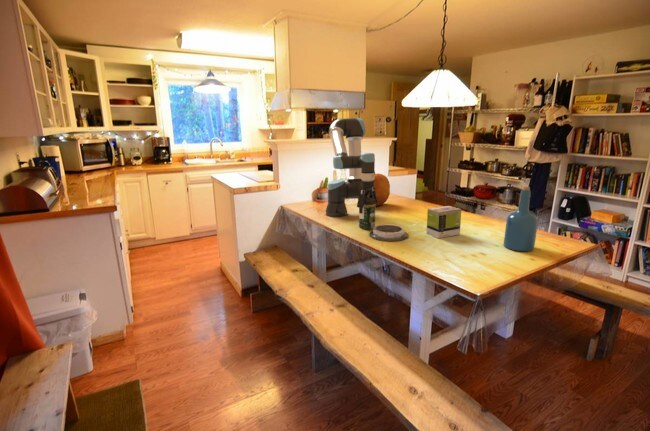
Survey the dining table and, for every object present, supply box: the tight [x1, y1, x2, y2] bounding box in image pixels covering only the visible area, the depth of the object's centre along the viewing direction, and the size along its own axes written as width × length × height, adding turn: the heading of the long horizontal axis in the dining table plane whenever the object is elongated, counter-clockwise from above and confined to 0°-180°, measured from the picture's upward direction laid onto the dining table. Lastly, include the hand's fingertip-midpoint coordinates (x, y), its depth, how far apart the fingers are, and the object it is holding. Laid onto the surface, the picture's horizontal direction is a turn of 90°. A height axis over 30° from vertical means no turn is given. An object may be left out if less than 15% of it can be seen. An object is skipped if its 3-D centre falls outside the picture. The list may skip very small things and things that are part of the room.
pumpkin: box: [374, 170, 391, 207], centre depth 254 cm, size 26×23×30 cm
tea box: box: [426, 205, 462, 239], centre depth 184 cm, size 15×10×15 cm, turn 111°
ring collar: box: [368, 223, 409, 242], centre depth 186 cm, size 21×21×4 cm
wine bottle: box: [503, 185, 539, 252], centre depth 160 cm, size 14×13×30 cm
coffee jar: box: [358, 197, 377, 230], centre depth 198 cm, size 10×8×19 cm
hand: (367, 216), depth 199 cm, fingers open, 13 cm apart
